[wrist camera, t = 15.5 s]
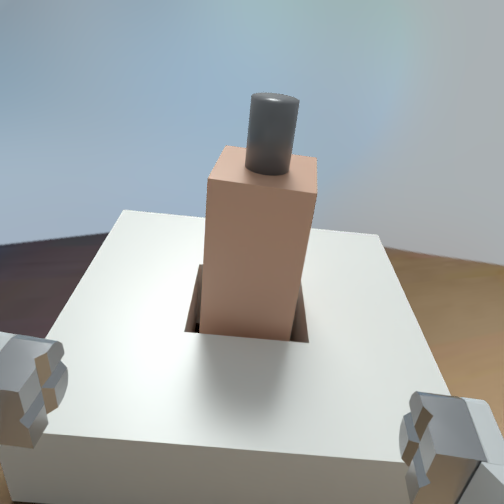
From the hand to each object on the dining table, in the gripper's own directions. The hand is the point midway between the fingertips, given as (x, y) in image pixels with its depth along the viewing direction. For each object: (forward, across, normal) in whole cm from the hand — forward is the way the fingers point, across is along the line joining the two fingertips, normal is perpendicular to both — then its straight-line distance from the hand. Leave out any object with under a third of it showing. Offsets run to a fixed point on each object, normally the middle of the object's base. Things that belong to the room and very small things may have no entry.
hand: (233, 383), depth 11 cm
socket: (+12, 0, +11) cm, 16 cm away
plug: (+12, 0, +11) cm, 16 cm away
